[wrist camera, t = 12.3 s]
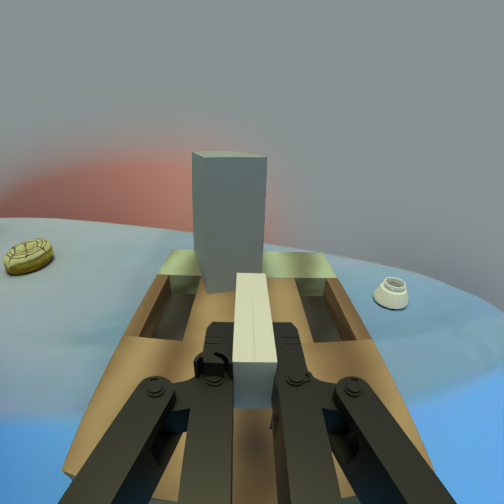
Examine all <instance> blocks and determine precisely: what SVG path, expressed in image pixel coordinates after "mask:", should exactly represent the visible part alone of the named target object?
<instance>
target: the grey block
mask: <svg viewBox="0 0 504 504" xmlns="http://www.w3.org/2000/svg"><path fill="white" fill-rule="evenodd" d="M266 174H267V157H263V156H258V155H253V154H248V153H243V152H237V151H222V152H221V151H219V152H218V151H214V152H192V196H193V197H192V198H193V233H194V252H195V256H196V259H197V263H198V266H199V269H200V272H201V276H202V279H203V282H204V286H205V289H206V292H207V294H213V293H222V292H231V291H236V279H237V273H262V262H263V242H264V221H265V197H266V176H267V175H266Z"/></svg>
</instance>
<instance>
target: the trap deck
mask: <svg viewBox="0 0 504 504" xmlns="http://www.w3.org/2000/svg"><path fill="white" fill-rule="evenodd" d="M262 273H264V274H266V281H267V289H268V296H269V303H270V310H271V318H272V322H292V323H293V324H294V326H295V327H296V328H297V329H298V333H299V337H300V341H301V345H302V349H303V353H304V357H305V361H306V365H307V369H308V371H309V372H311V373H312V375H313V377H315V378H316V379H319V380H321V381H325V382H330V383H336V384H337V383H338V381H339V380H340V379H342V378H344V377H349V376H354V377H359V378H361V379H363V380H365V381H366V382H367V383H368V384H369V385H370V387H371V388H372V389H373V391H374V392H375V393H376V395H377V396H378V397H379V399H380V400H381V401H382V403H383V404H384V405H385V407H386V408H387V409H388V411H389V412H390V413H391V415H392V416H393V417H394V419H395V420H396V421H397V423H398V424H399V425H400V427H401V428H402V429H403V431H404V432H405V433H406V435H407V436H408V437H409V439H410V440H411V441H412V443H413V444H414V446H415V447H416V448H417V450H418V451H419V452H420V454H421V455H422V456H423V458H424V459H425V460H426V462H427V463H428V465H429V466H430V467H431V469H432V470H433V471H434V468H433V466H432V463H431V461H430V459H429V456H428V454H427V452H426V449H425V447H424V445H423V442H422V440H421V438H420V436H419V433H418V431H417V429H416V427H415V424H414V422H413V420H412V418H411V416H410V414H409V411H408V409H407V407H406V405H405V403H404V401H403V399H402V397H401V395H400V393H399V391H398V389H397V387H396V385H395V383H394V381H393V379H392V377H391V375H390V373H389V371H388V369H387V367H386V365H385V363H384V361H383V359H382V357H381V355H380V353H379V351H378V350H377V348H376V346H375V344H374V342H373V340H372V338H371V336H370V335H369V333H368V331H367V329H366V327H365V325H364V324H363V322H362V320H361V318H360V316H359V315H358V313H357V311H356V309H355V308H354V306H353V304H352V302H351V301H350V299H349V297H348V295H347V294H346V292H345V290H344V288H343V287H342V285H341V283H340V282H339V280H338V278H337V277H336V275H335V273H334V271H333V270H332V268H331V266H330V265H329V263H328V261H327V260H326V258H325V257H324V255H323V253H304V252H263V262H262ZM235 297H236V291H231V292H222V293H213V294H207V292H206V289H205V286H204V282H203V279H202V276H201V272H200V269H199V266H198V263H197V259H196V256H195V252H194V250H172V251H171V253H170V254H169V256H168V257H167V259H166V261H165V262H164V264H163V266H162V267H161V269H160V271H159V272H158V274H157V276H156V278H155V279H154V281H153V283H152V284H151V286H150V288H149V290H148V291H147V293H146V295H145V296H144V298H143V300H142V302H141V304H140V305H139V307H138V309H137V311H136V312H135V314H134V316H133V318H132V320H131V322H130V323H129V325H128V327H127V329H126V331H125V333H124V335H123V336H122V338H121V340H120V342H119V344H118V346H117V348H116V350H115V352H114V354H113V356H112V358H111V360H110V362H109V364H108V366H107V368H106V370H105V372H104V374H103V376H102V378H101V380H100V382H99V384H98V386H97V388H96V390H95V392H94V394H93V397H92V399H91V401H90V403H89V405H88V407H87V410H86V412H85V414H84V416H83V419H82V421H81V423H80V425H79V428H78V430H77V432H76V435H75V437H74V440H73V442H72V444H71V447H70V449H69V452H68V454H67V457H66V459H65V462H64V465H63V467H62V471H63V472H64V473H65V474H66V475H67V476H68V477H69V478H71V479H72V480H74V478H75V477H76V475H77V474H78V472H79V471H80V469H81V468H82V466H83V465H84V463H85V462H86V460H87V459H88V457H89V456H90V454H91V453H92V451H93V450H94V448H95V447H96V445H97V444H98V442H99V441H100V439H101V438H102V436H103V435H104V433H105V432H106V431H107V429H108V428H109V426H110V425H111V423H112V422H113V420H114V419H115V417H116V416H117V414H118V413H119V412H120V410H121V409H122V407H123V406H124V404H125V403H126V401H127V400H128V399H129V397H130V396H131V394H132V393H133V391H134V390H135V388H136V387H137V386H138V384H139V383H140V382H141V381H142V380H143V379H145V378H147V377H150V376H162V377H165V378H167V379H169V380H170V381H171V382H172V383H177V382H182V381H186V380H189V379H191V378H193V377H194V376H195V372H194V364H193V361H194V359H195V357H196V356H197V355H198V354H199V353H201V352H203V346H204V340H205V335H206V329H207V327H208V326H209V325H210V324H211V323H212V321H213V322H234V317H235ZM233 414H234V423H233V485H232V504H278V500H277V487H276V474H275V461H274V449H273V436H272V429H270V424H271V418H272V404H271V408H267V409H244V408H234V412H233ZM186 434H187V432H183V434H182V436H181V438H180V440H179V442H178V445H177V447H176V449H175V451H174V453H173V455H172V457H171V459H170V461H169V463H168V465H167V467H166V469H165V471H164V473H163V475H162V477H161V479H160V481H159V483H158V485H157V487H156V489H155V491H154V493H153V495H152V498H151V500H150V502H149V504H177V502H178V493H179V485H180V477H181V470H182V462H183V455H184V448H185V441H186ZM332 456H333V460H334V465H335V469H336V474H337V479H338V483H339V488H340V493H341V498H342V503H343V504H361V503H360V501H359V500H358V498H357V496H356V494H355V493H354V491H353V489H352V487H351V485H350V484H349V482H348V480H347V478H346V476H345V475H344V473H343V471H342V469H341V467H340V466H339V464H338V462H337V460H336V458H335V456H334V455H333V453H332Z"/></svg>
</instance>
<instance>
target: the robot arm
mask: <svg viewBox="0 0 504 504" xmlns="http://www.w3.org/2000/svg"><path fill="white" fill-rule="evenodd" d="M193 364H194V372H195V376H194V377H193V378H191V379H189V380H186V381H182V382H177V383H172V382H171V381H170V380H169V379H167V378H165V377H162V376H150V377H147V378H145V379H143V380H142V381H141V382H140V383H139V384H138V386H137V387H136V388H135V390H134V391H133V393H132V394H131V396H130V397H129V399H128V400H127V401H126V403H125V404H124V406H123V407H122V409H121V410H120V412H119V413H118V414H117V416H116V417H115V419H114V420H113V422H112V423H111V425H110V426H109V428H108V429H107V431H106V432H105V433H104V435H103V436H102V438H101V439H100V441H99V442H98V444H97V445H96V447H95V448H94V450H93V451H92V453H91V454H90V456H89V457H88V459H87V460H86V462H85V463H84V465H83V466H82V468H81V469H80V471H79V472H78V474H77V475H76V477H75V478H74V480H73V481H72V483H71V484H70V486H69V487H68V489H67V490H66V492H65V493H64V495H63V496H62V498H61V499H60V501H59V503H58V504H149V502H150V500H151V498H152V495H153V493H154V491H155V489H156V487H157V485H158V483H159V481H160V479H161V477H162V475H163V473H164V471H165V469H166V467H167V465H168V463H169V461H170V459H171V457H172V455H173V453H174V451H175V449H176V447H177V445H178V442H179V440H180V438H181V436H182V434H183V432H187V434H186V441H185V448H184V455H183V462H182V470H181V477H180V485H179V493H178V502H177V504H232V485H233V423H234V414H233V412H234V408H244V409H267V408H271V404H272V418H271V424H270V429H272V436H273V449H274V461H275V474H276V487H277V500H278V504H343V503H342V498H341V493H340V488H339V483H338V479H337V474H336V469H335V465H334V460H333V456H332V453H333V455H334V456H335V458H336V460H337V462H338V464H339V466H340V467H341V469H342V471H343V473H344V475H345V476H346V478H347V480H348V482H349V484H350V485H351V487H352V489H353V491H354V493H355V494H356V496H357V498H358V500H359V501H360V503H361V504H457V503H456V502H455V501H454V499H453V498H452V496H451V495H450V494H449V492H448V491H447V489H446V488H445V487H444V485H443V484H442V482H441V481H440V480H439V478H438V477H437V476H436V474H435V473H434V471H433V470H432V469H431V467H430V466H429V465H428V463H427V462H426V460H425V459H424V458H423V456H422V455H421V454H420V452H419V451H418V450H417V448H416V447H415V446H414V444H413V443H412V441H411V440H410V439H409V437H408V436H407V435H406V433H405V432H404V431H403V429H402V428H401V427H400V425H399V424H398V423H397V421H396V420H395V419H394V417H393V416H392V415H391V413H390V412H389V411H388V409H387V408H386V407H385V405H384V404H383V403H382V401H381V400H380V399H379V397H378V396H377V395H376V393H375V392H374V391H373V389H372V388H371V387H370V385H369V384H368V383H367V382H366V381H365V380H363V379H361V378H359V377H354V376H349V377H344V378H342V379H340V380H339V381H338V383H337V384H336V383H330V382H325V381H321V380H319V379H316V378H315V377H313V375H312V373H311V372H309V371H308V369H307V365H306V361H305V357H304V353H303V349H302V345H301V341H300V337H299V333H298V329H297V328H296V327H295V326H294V324H293V323H292V322H272V318H271V310H270V303H269V296H268V289H267V281H266V274H264V273H237V279H236V297H235V317H234V322H213V321H212V323H211V324H210V325H209V326H208V327H207V329H206V335H205V340H204V346H203V352H201V353H199V354H198V355H197V356H196V357H195V359H194V361H193Z"/></svg>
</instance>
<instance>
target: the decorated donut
mask: <svg viewBox="0 0 504 504" xmlns="http://www.w3.org/2000/svg"><path fill="white" fill-rule="evenodd" d="M52 254H53V249H52V245H51V243H50V241H49V240H47V239H42V238H37V239H31V240H28V241H25V242H22V243H19V244H17V245H16V246H14V247H12V248H11V249H10V250H9V251H8V252H7V253H6V254H5V256H4V258H3V262H4V265H5V268H6V270H7V272H8V273H10V274H13V275H14V274H18V275H21V274H23V273H29V272H31V271H36V270H38V269H39V268H41V267H43V266H45V265H46V264H47V263H49V261H50V260H51V258H52Z"/></svg>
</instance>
